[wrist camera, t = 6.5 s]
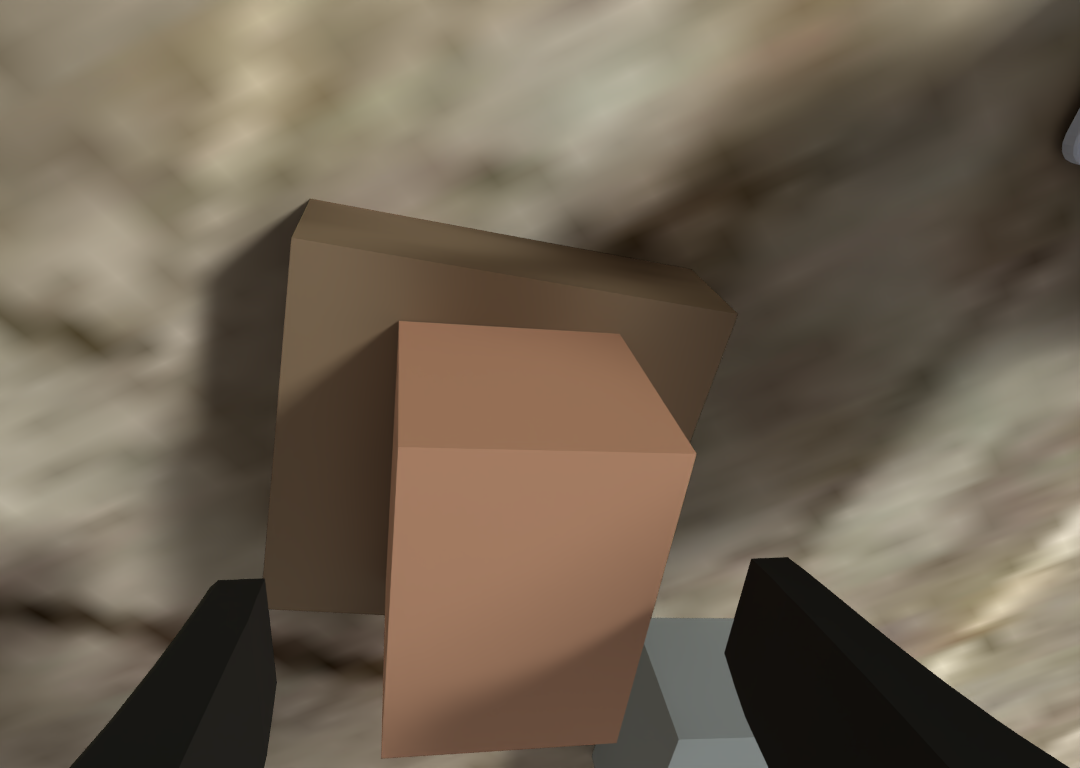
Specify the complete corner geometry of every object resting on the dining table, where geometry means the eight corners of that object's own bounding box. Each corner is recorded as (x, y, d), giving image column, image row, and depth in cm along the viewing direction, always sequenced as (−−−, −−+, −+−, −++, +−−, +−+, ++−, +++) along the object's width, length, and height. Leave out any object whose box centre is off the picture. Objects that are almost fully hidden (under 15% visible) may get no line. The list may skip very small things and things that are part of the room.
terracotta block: (619, 334, 13) (696, 454, 10) (570, 581, 16) (616, 743, 13) (399, 320, 13) (398, 446, 9) (385, 583, 15) (381, 758, 12)
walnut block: (684, 263, 16) (737, 314, 14) (592, 542, 20) (620, 627, 17) (313, 193, 14) (291, 237, 12) (282, 517, 18) (260, 608, 15)
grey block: (760, 615, 22) (827, 735, 18) (705, 748, 24) (755, 874, 21) (633, 613, 21) (678, 739, 17) (590, 751, 23) (622, 884, 20)
